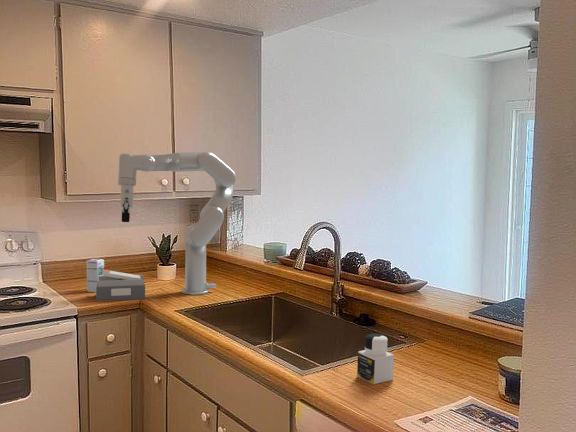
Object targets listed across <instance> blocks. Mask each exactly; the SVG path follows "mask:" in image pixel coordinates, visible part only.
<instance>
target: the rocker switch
mask: <svg viewBox="0 0 576 432" xmlns="http://www.w3.org/2000/svg"><path fill="white" fill-rule="evenodd" d="M139 275H140V274H131V273H125V272H120V271H116V270H115V271H113V270H109V269H105V268H104V269H103V272H102V276H108V277H114V278H120V279H126V280H137V279H140V276H139Z"/></svg>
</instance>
